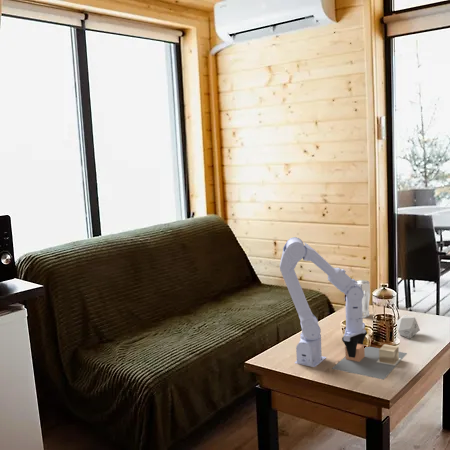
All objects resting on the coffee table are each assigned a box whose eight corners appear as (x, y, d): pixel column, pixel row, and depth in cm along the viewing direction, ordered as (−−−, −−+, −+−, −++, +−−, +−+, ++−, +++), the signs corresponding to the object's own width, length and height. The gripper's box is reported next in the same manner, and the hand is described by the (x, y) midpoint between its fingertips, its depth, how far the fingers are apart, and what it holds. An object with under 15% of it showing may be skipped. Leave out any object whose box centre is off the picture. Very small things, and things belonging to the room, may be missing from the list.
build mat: (383, 380, 178) (383, 379, 178) (331, 370, 188) (331, 368, 188) (407, 354, 197) (407, 352, 197) (358, 346, 207) (358, 344, 207)
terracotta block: (359, 361, 192) (358, 349, 192) (345, 359, 195) (345, 346, 194) (364, 356, 196) (364, 344, 196) (351, 354, 199) (350, 342, 198)
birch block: (393, 364, 188) (393, 351, 188) (379, 361, 191) (379, 349, 190) (398, 359, 192) (398, 346, 192) (384, 356, 195) (384, 344, 194)
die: (397, 341, 211) (413, 324, 207) (386, 325, 217) (401, 307, 213) (412, 344, 215) (428, 327, 211) (401, 328, 221) (416, 311, 217)
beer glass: (360, 312, 245) (359, 279, 243) (373, 315, 240) (373, 281, 238) (350, 316, 241) (349, 282, 239) (364, 319, 236) (363, 285, 233)
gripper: (357, 325, 185) (358, 363, 187) (372, 312, 197) (373, 348, 199) (337, 322, 189) (338, 359, 191) (353, 309, 201) (354, 345, 203)
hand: (355, 354), depth 195 cm, fingers closed on terracotta block, 5 cm apart
